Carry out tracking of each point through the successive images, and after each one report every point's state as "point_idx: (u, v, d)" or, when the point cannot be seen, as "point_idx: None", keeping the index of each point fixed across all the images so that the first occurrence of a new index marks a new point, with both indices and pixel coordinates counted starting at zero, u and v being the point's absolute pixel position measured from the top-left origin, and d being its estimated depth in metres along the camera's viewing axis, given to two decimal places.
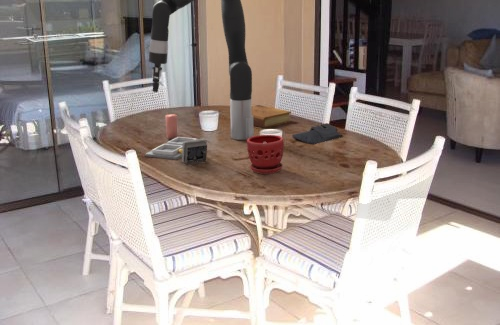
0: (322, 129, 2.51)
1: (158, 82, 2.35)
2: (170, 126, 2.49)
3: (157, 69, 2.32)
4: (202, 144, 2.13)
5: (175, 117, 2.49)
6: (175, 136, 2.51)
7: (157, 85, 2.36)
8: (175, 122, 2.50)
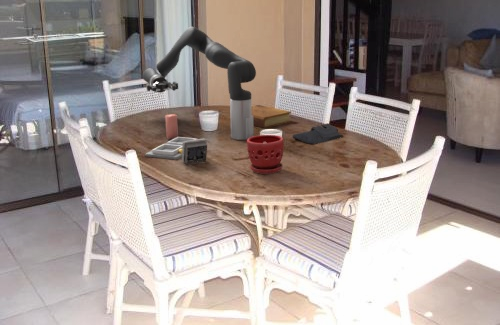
0: (322, 129, 2.50)
1: (151, 85, 2.59)
2: (170, 126, 2.49)
3: (146, 85, 2.64)
4: (202, 144, 2.13)
5: (175, 117, 2.49)
6: (175, 136, 2.51)
7: (153, 87, 2.58)
8: (175, 122, 2.50)
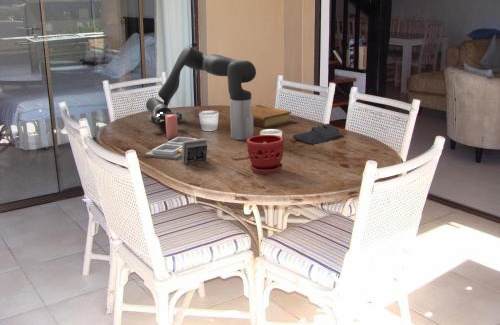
0: (323, 129, 2.50)
1: (155, 116, 2.60)
2: (170, 126, 2.49)
3: (150, 116, 2.64)
4: (202, 144, 2.13)
5: (175, 117, 2.49)
6: (175, 136, 2.51)
7: (157, 118, 2.59)
8: (175, 122, 2.50)
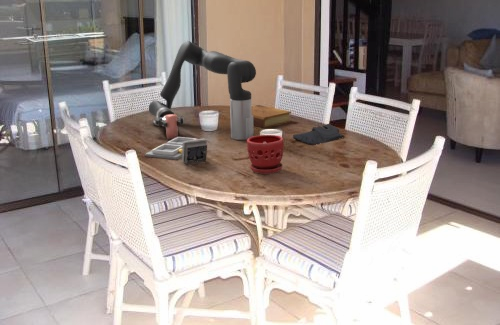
0: (323, 130, 2.49)
1: (162, 120, 2.51)
2: (170, 126, 2.49)
3: None
4: (202, 144, 2.13)
5: (175, 117, 2.49)
6: (175, 136, 2.51)
7: (164, 122, 2.50)
8: (175, 122, 2.50)
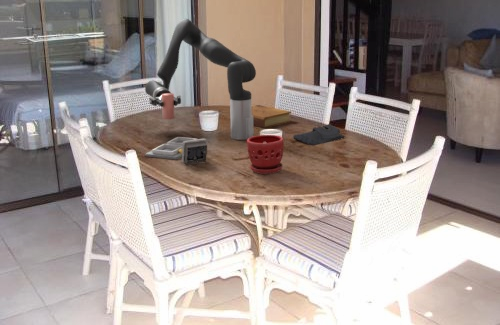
0: (324, 130, 2.49)
1: (158, 100, 2.37)
2: (166, 105, 2.35)
3: (149, 100, 2.41)
4: (202, 144, 2.13)
5: (172, 96, 2.35)
6: (172, 116, 2.37)
7: (160, 101, 2.36)
8: (172, 101, 2.35)
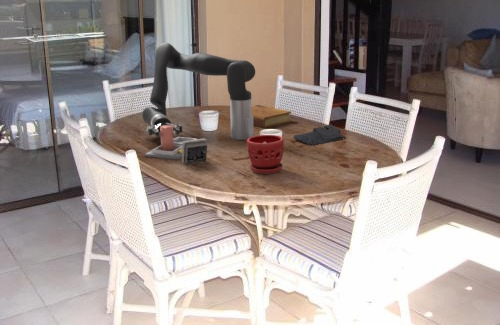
0: (324, 130, 2.48)
1: (153, 129, 2.26)
2: (165, 138, 2.25)
3: None
4: (202, 144, 2.13)
5: (171, 128, 2.25)
6: (171, 149, 2.27)
7: (156, 130, 2.25)
8: (171, 134, 2.25)
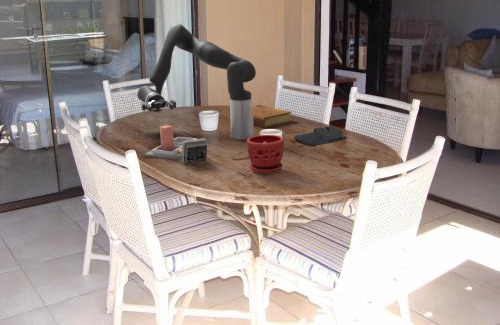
0: (325, 131, 2.47)
1: (146, 105, 2.36)
2: (165, 138, 2.25)
3: (141, 104, 2.41)
4: (202, 144, 2.13)
5: (171, 128, 2.25)
6: (171, 149, 2.27)
7: (149, 106, 2.35)
8: (171, 134, 2.25)
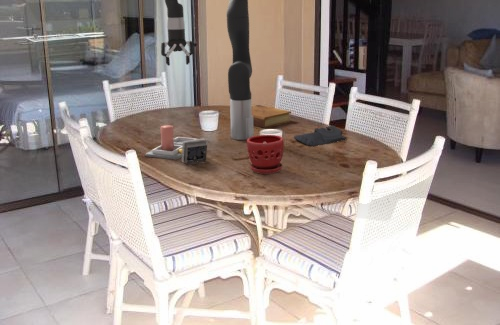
0: (326, 131, 2.47)
1: (166, 56, 2.54)
2: (166, 138, 2.25)
3: (161, 43, 2.53)
4: (202, 144, 2.13)
5: (172, 128, 2.25)
6: (172, 149, 2.27)
7: (167, 59, 2.55)
8: (172, 134, 2.26)
